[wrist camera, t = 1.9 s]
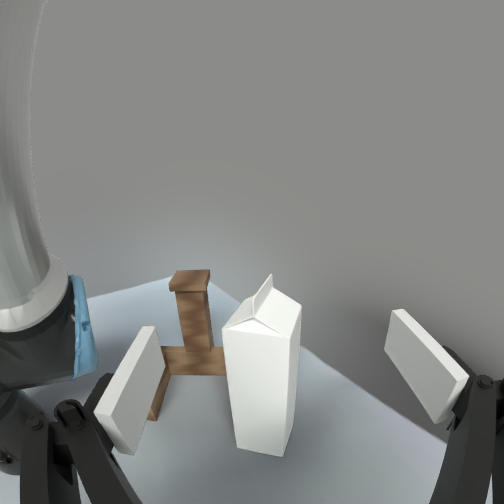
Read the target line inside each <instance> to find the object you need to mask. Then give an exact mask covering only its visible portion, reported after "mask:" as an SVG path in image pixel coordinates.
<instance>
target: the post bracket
mask: <svg viewBox="0 0 504 504" xmlns="http://www.w3.org/2000/svg"><path fill="white" fill-rule="evenodd" d="M209 279H210V270H185V271H176V273H175V274H174V276H173V277H172V279H171V281H170V282H169V290H170V291H175V294H176V301H177V307H178V313H179V319H180V324H181V330H182V335H183V340H184V346H185V347H171V346H160V347H161V351H162V355H163V359H164V363H165V369H164V371H163V374H162V377H161V379H160V382H159V385H158V388H157V391H156V393H155V396H154V399H153V402H152V405H151V408H150V410H149V413H148V416H147V420H152V421H157V418H158V414H159V411H160V408H161V404H162V401H163V398H164V395H165V392H166V388H167V385H168V382H169V379H170V376H171V374H175V375H227V373H226V365H225V357H224V348H223V347H214V343H213V336H212V328H211V320H210V311H209V303H208V294H207V286H208V282H209ZM231 412H232V411H231ZM232 419H233V418H232Z"/></svg>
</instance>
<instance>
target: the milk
mask: <svg viewBox="0 0 504 504" xmlns="http://www.w3.org/2000/svg"><path fill="white" fill-rule="evenodd" d="M272 278H273V277H272V274H270V275H269V277H268V278H267V280H266V281H265V282H264V284H263V285H262V287H261V288H260V289H259V291H258V292H257V294H256V295H254V296H252V297H249V298H247V299H245V300H244V301H243V302H242V304H241V305H240V306H239V307H238V309H237V310H236V311H235V312H234V314H233V315H232V316H231V318H230V319H229V320H228V321H227V323H226V324H225V325H224V326H223V328H222V339H223V348H224V357H225V365H226V373H227V381H228V389H229V396H230V404H231V411H232V418H233V425H234V431H235V438H236V444H237V448H241V449H245V450H249V451H254V452H258V453H263V454H268V455H273V456H279V457H283V455H284V452H285V449H286V446H287V443H288V439H289V436H290V433H291V430H292V426H293V421H294V411H295V401H296V389H297V377H298V363H299V348H300V330H301V309H302V306H301V305H300V304H298V303H297V302H295V301H293V300H292V299H291V298H289V297H287V296H286V295H284V294H282V293H281V292H279V291H278V290H276V289H275V288H273V279H272Z"/></svg>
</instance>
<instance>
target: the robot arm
mask: <svg viewBox="0 0 504 504" xmlns="http://www.w3.org/2000/svg"><path fill="white" fill-rule="evenodd" d="M47 1H48V0H0V470H1V471H2V472H4V473H7V474H11V475H20V504H81V500H80V493H79V487H78V479H77V471H78V474H79V476H80V479H81V481H82V483H83V486H84V488H85V490H86V493H87V495H88V497H89V499H90V501H91V503H92V504H142V502H141V501H140V499H139V498H138V496H137V495H136V493H135V491H134V490H133V488H132V487H131V485H130V483H129V482H128V480H127V478H126V477H125V475H124V473H123V471H122V470H121V468H120V466H119V464H118V462H117V461H116V459H115V457H114V455H113V454H112V452H111V451H112V449H113V446H115V448H116V449H117V451H118V452H119V453H123V454H128V455H133V456H135V452H136V449H137V446H138V443H139V440H140V437H141V434H142V431H143V428H144V425H145V422H146V419H147V416H148V413H149V410H150V408H151V405H152V402H153V399H154V396H155V393H156V391H157V388H158V385H159V382H160V379H161V377H162V374H163V371H164V369H165V363H164V359H163V355H162V351H161V347H160V343H159V339H158V335H157V330H156V326H142V328H141V330H140V331H139V333H138V335H137V336H136V338H135V340H134V341H133V343H132V345H131V346H130V348H129V350H128V351H127V353H126V355H125V357H124V358H123V360H122V362H121V363H120V365H119V367H118V369H117V370H116V372H115V374H111V373H106V374H105V375H104V376H103V377H101V378H100V379H99V381H98V382H97V384H96V386H95V388H94V389H93V391H92V394H90V396H89V397H88V399H87V401H86V403H85V404H84V406H83V407H82V405H81V404H80V402H78V401H77V400H72V399H69V400H64V401H62V402H60V403H59V404H58V405H57V406H56V408H55V410H54V415H55V417H56V418H57V420H58V421H59V422H51V421H50V419H49V418H48V416H47V415H46V413H45V412H44V410H43V409H42V408H41V407H40V406H39V405H38V404H37V403H36V402H35V401H33V400H32V399H31V398H30V397H29V396H28V395H27V394H26V393H25V392H23V391H22V390H21V389H26V388H31V387H37V386H43V385H48V384H53V383H58V382H63V381H68V380H75V379H76V378H77V377H80V376H83V375H87V374H90V373H92V372H93V371H94V370H95V369H96V368H97V365H98V357H97V352H96V347H95V342H94V337H93V332H92V328H91V325H90V318H89V311H88V305H87V300H86V294H85V288H84V283H83V279H82V278H81V277H80V276H77V275H76V276H74V275H69V276H68V272H67V270H66V267H65V265H64V263H63V262H62V261H61V260H60V259H59V258H58V257H56V256H54V255H52V254H49V253H48V251H47V247H46V243H45V239H44V234H43V230H42V225H41V220H40V215H39V210H38V204H37V198H36V191H35V184H34V176H33V167H32V155H31V140H30V97H31V80H32V70H33V60H34V52H35V47H36V41H37V35H38V29H39V25H40V20H41V16H42V12H43V7H44V5H45V3H46V2H47ZM384 350H385V352H386V353H387V354H388V356H389V357H390V358H391V360H392V361H393V363H394V364H395V366H396V367H397V368H398V370H399V371H400V373H401V374H402V376H403V377H404V379H405V380H406V381H407V383H408V384H409V386H410V387H411V389H412V390H413V392H414V393H415V395H416V396H417V398H418V399H419V401H420V402H421V403H422V405H423V407H424V408H425V410H426V411H427V412H428V414H429V416H430V417H431V419H432V420H433V422H434V423H435V424H436V423H439V422H441V421H444V420H446V419H447V418H448V416H449V415H450V413H451V411H453V412H454V414H455V416H454V417H453V419H452V421H451V422H450V424H449V426H448V427H447V429H446V430H449V428H450V427H451V430H450V435H449V440H448V444H447V448H446V452H445V456H444V460H443V463H442V467H441V470H440V474H439V477H438V480H437V483H436V486H435V489H434V492H433V495H432V497H431V500H430V503H429V504H485V502H486V498H487V493H488V489H489V483H490V478H491V472H492V491H493V504H504V378H503V380H498V381H493V379H492V378H490V377H489V376H486V375H479V376H477V375H476V374H475V373H474V372H473V371H472V370H471V369H470V368H469V367H468V366H467V365H466V364H465V363H464V362H463V361H462V360H461V359H460V358H459V357H458V356H457V354H456V353H454V351H453V350H451V349H449V348H448V347H446V346H440V345H439V344H438V343H437V342H436V341H435V340H434V339H433V338H432V337H431V336H430V335H429V334H428V333H427V332H426V331H425V330H424V329H423V328H422V327H421V326H420V325H419V324H418V323H417V322H416V321H415V320H414V319H413V318H412V317H411V316H410V315H409V314H408V313H407V312H406V311H405V310H404V309H399V310H393V311H392V314H391V319H390V325H389V330H388V335H387V339H386V344H385V348H384ZM76 469H77V470H76Z"/></svg>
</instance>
